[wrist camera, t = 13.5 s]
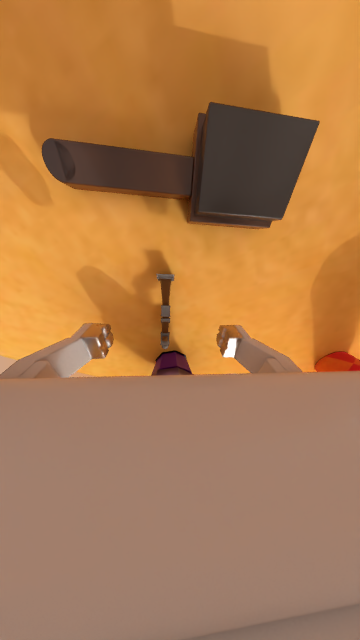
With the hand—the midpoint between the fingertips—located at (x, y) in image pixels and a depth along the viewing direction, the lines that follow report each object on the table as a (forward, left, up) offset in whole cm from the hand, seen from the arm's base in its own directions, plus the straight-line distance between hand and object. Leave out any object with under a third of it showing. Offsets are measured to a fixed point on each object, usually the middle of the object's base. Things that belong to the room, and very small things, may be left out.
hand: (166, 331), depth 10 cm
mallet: (-1, -10, -7) cm, 12 cm away
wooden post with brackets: (0, +1, -7) cm, 7 cm away
